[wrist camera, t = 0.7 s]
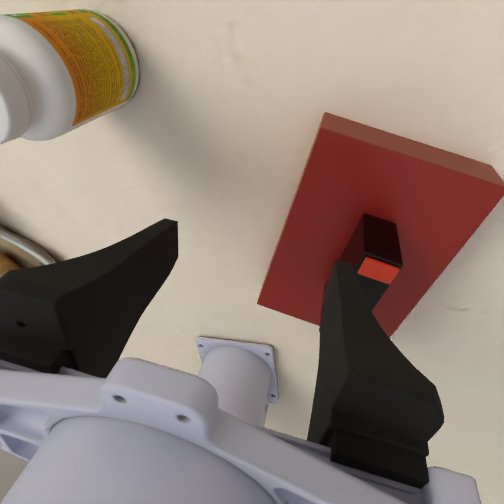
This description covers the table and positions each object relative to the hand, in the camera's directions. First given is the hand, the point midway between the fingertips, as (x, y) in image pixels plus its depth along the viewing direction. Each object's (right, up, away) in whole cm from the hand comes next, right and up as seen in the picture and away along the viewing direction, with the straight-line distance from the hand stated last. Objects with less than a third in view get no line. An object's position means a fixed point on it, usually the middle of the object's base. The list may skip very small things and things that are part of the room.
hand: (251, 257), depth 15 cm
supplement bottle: (-9, +12, +6) cm, 17 cm away
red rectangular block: (+7, +2, +9) cm, 12 cm away
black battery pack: (+7, 0, +7) cm, 9 cm away
